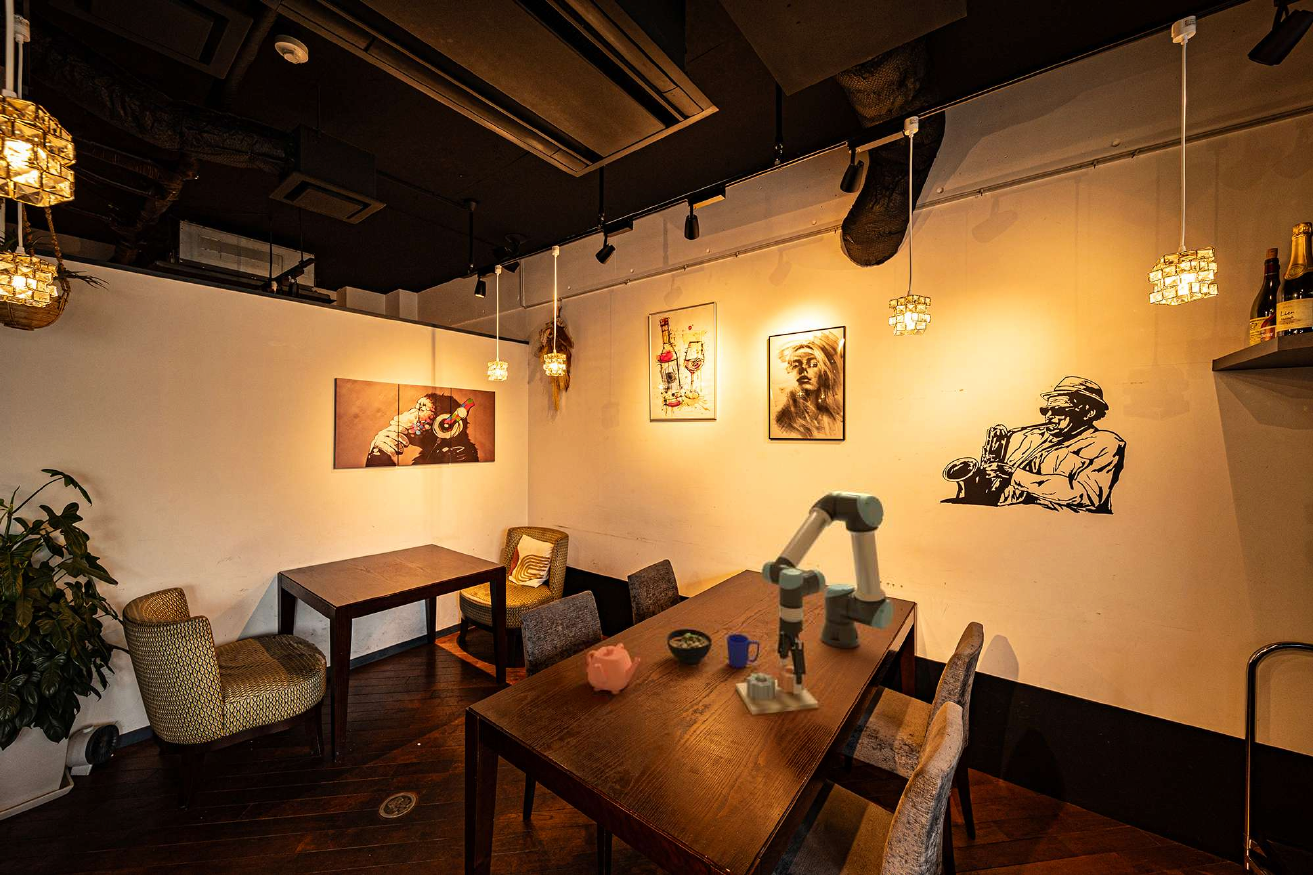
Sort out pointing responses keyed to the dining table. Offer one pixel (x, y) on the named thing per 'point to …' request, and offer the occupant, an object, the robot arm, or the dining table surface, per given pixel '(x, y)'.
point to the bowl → (689, 646)
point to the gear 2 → (787, 678)
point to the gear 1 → (761, 687)
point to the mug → (739, 650)
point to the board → (777, 700)
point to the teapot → (610, 668)
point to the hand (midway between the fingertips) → (790, 685)
